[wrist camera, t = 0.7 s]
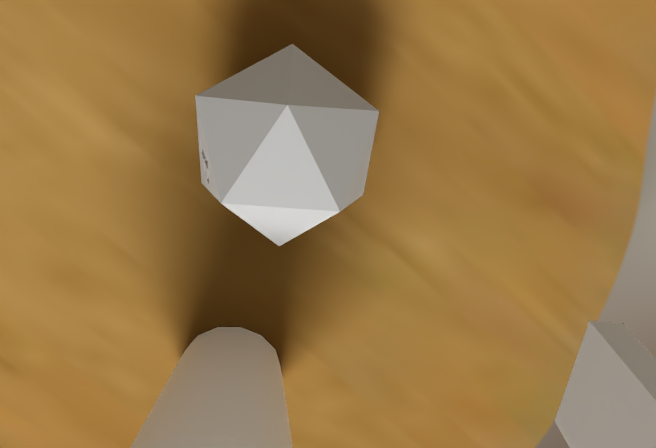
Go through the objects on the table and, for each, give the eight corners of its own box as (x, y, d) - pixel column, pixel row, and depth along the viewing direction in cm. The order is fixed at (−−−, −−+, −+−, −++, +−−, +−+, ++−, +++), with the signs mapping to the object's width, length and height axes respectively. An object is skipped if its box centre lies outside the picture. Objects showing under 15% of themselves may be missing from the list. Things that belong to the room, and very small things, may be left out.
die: (273, 5, 29) (131, 82, 23) (427, 63, 26) (314, 168, 20) (268, 137, 35) (154, 228, 29) (395, 196, 32) (299, 310, 26)
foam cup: (317, 410, 39) (323, 605, 27) (184, 435, 39) (132, 638, 27) (284, 291, 35) (274, 456, 23) (137, 320, 35) (53, 497, 23)
